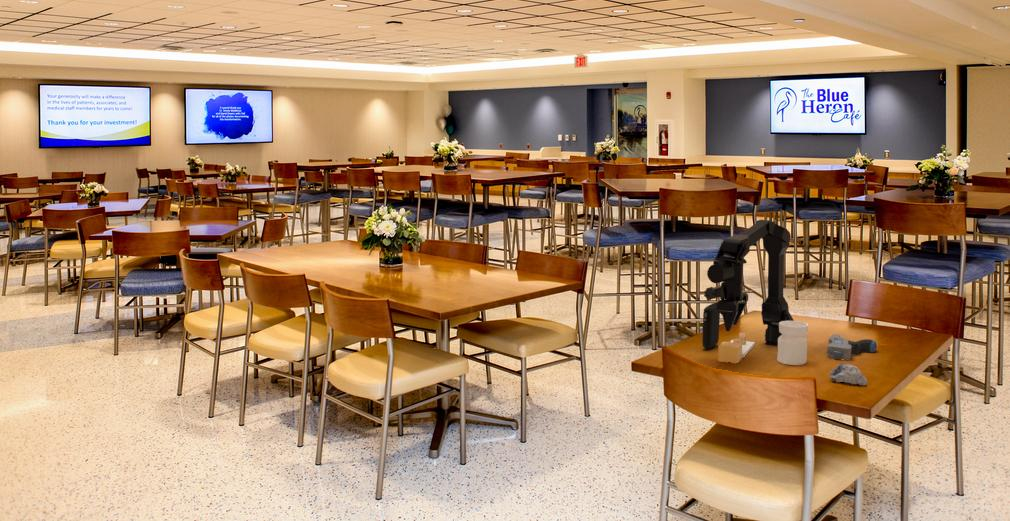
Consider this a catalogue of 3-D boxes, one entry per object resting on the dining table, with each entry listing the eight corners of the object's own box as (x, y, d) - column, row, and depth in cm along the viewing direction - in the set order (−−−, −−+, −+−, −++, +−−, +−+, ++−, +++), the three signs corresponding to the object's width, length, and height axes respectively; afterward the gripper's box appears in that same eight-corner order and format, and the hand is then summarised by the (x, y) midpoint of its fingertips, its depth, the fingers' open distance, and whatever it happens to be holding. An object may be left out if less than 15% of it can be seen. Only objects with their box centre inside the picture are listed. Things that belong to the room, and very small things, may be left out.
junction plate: (754, 345, 287) (755, 332, 286) (743, 357, 272) (744, 343, 271) (732, 342, 290) (732, 329, 290) (720, 354, 275) (720, 341, 275)
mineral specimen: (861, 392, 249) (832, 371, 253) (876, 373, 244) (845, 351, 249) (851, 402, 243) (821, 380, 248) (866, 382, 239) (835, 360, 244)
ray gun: (876, 337, 281) (828, 333, 287) (878, 351, 264) (827, 347, 269) (876, 350, 282) (827, 345, 288) (878, 365, 265) (826, 360, 270)
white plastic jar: (786, 365, 263) (788, 327, 261) (771, 358, 271) (773, 321, 269) (811, 364, 264) (814, 326, 262) (797, 356, 273) (799, 320, 271)
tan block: (741, 358, 270) (742, 343, 270) (737, 363, 265) (738, 348, 264) (722, 356, 273) (723, 341, 272) (718, 361, 268) (718, 345, 267)
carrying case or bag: (708, 352, 278) (709, 307, 276) (699, 350, 280) (700, 306, 278) (719, 345, 287) (721, 302, 285) (711, 343, 289) (712, 301, 286)
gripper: (714, 272, 277) (712, 319, 279) (699, 281, 260) (697, 331, 263) (749, 274, 272) (747, 322, 274) (736, 284, 255) (734, 335, 258)
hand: (731, 327), depth 267 cm, fingers open, 9 cm apart
